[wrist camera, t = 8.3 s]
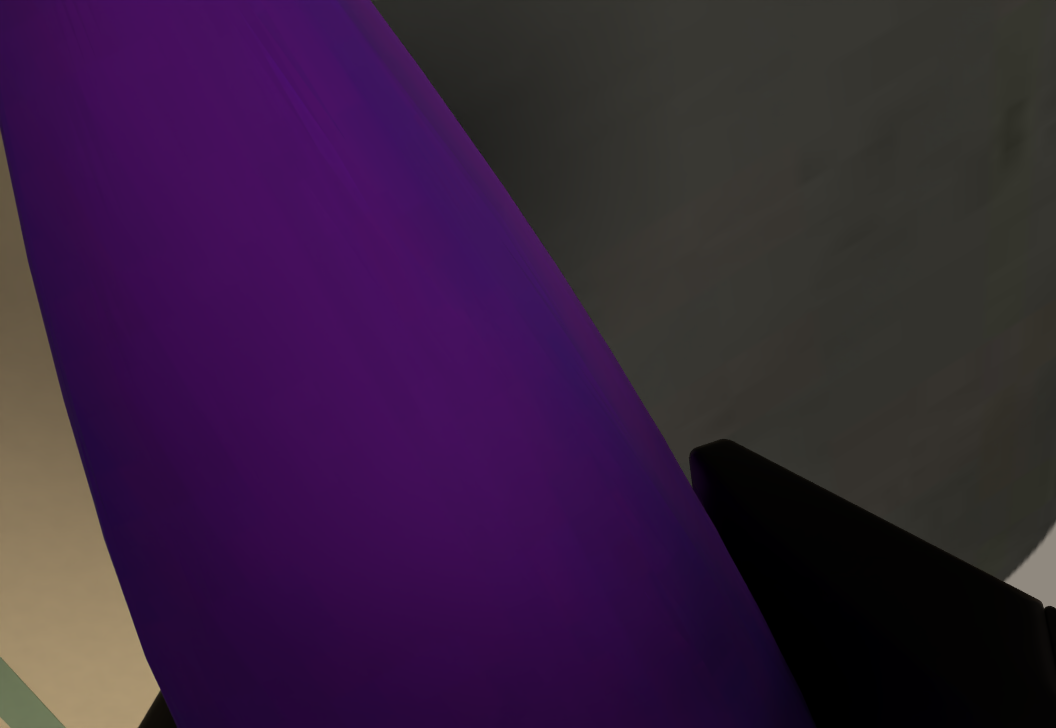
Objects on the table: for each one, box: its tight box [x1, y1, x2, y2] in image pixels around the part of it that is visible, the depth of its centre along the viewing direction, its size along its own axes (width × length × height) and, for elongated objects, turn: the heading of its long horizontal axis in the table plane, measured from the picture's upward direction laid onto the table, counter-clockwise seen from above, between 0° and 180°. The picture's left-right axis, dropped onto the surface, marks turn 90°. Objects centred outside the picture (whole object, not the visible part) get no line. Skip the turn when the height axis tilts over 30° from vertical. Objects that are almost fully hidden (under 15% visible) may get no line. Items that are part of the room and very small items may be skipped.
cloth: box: [0, 130, 160, 728], centre depth 17 cm, size 20×11×1 cm, turn 12°
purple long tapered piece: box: [0, 0, 817, 728], centre depth 8 cm, size 5×5×15 cm
